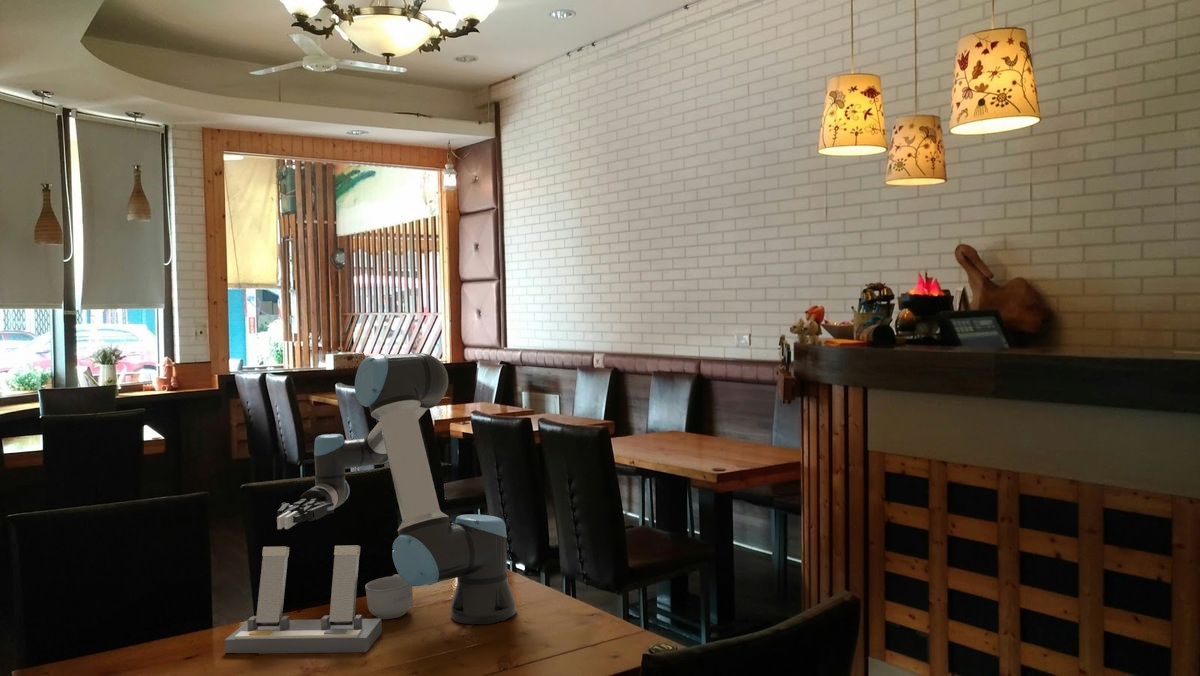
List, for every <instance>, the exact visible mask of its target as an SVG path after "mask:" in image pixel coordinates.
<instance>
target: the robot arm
mask: <svg viewBox="0 0 1200 676" xmlns="http://www.w3.org/2000/svg"><path fill="white" fill-rule="evenodd" d="M448 386H449V375H448V371H447V370H446V367H445V366H444V364H443V363H442V362H441V360H439V359H438V358H436V356H434V355H431V354H428V353H424V352H417V353H397V354H396V353H395V354H384V353H383V354H379V355H371V356H368V357H365V358H364V359H363V360H362V361H361V363H360V364H359V366H358V367H357V371H356V375H355V379H354V392H355V397H356V401H357V402H359V405H361V406H363V407H365V408H369V412H370V416H371V417H372V418H374V419H375V420H377V421H378V423H377V424H376V425H375V426H374V428H373V429H372V430H371V431H370V432H369V434H368V435H367V436H366V437H364V438H363V437H362V438H355V439H345V437H344V435H343V434H341V433H331V434H330V433H329V434H328V433H327V434H321V435H318V436H316V438H315V439H314V445H313V446H314V449H313V455H314V471H315V472H314V473H315V475H314V476H315V477H314V479H315V480H314V481H315V486H313V487H311V488H310V489H308V490H306V491H304V492H303V493H302V494H301V495H300V497H299V499H298V501H296V502H293V504H292V505H291V504H290V503H287V502H282V503H281V506H280V508H278V510H277V514H276V515H277V517H276V523H277V527H276V529H277V530H282V529H283V528H284V529H285V530H289V529H291V528H292V527H293V526H295V525H296V524H299V523H303V522H305V521H308V522H312V521H315V520H318V519H321V518H323V517H324V516H326V515H329V514H334V513H335V511H334V510H335V509H337V508H339V507H340V506H341V505H343V504H344V503H345V501H347V499H348V498H349V496H350V485H349V483H348V482H347V480H346V469H352V468H359V467H361V468H362V467H367V466H375V465H383V464H386V463H388V464H389V469H390V473H391V476H392V481H393V486H394V490H395V494H396V499H397V503H398V507H399V512H400V515H401V520H402V521H401V524H400V525H399V527H398V529H397V533H398V534H397V535H398V537H396V538H395V540H394V541H393V543H392V551H391V553H392V555H391V556H392V560H393V563H394V566H395V569H396V571H397V573H398V575H400V576H401V578H402V579H403V580H404V581H406V583H408V584H409V585H412V587H423V586H431V585H434V584H436V583H440V582H443V581H444V582H445V581H448V580H452V579H455V578H457V580H456V581H457V583H456V586H455V590H454V595H453V597H452V600H451V603H450V619H452V620H453V621H454V622H457V623H460V624H463V625H464V624H466V625H475V624H479V625H489V624H490V625H491V624H496V623H495V622H497V623H500V621H501V622H504V621H507V620H508V618H509V619H511V618H513V617H514V616H515V615H514V614H516V612H517V611H516V610H517V609H516V601H515V599H514V595H513V592H512V589H511V587H510V583H509V581H508V556H507V555H508V554H507V552H508V551H507V549H508V548H507V538H508V535H507V527H506V526H507V525H506V522H505V521H504V520H503V518H501V517H498V516H494V515H487V514H475V513H474V514H460V515H458V516H456V518H455V521H454V523H455V524H452V525H451V522H450V517H449V515H447V514H446V513H444V512H442V510H441V509H440V505H439V501H438V497H437V492H436V489H435V484H434V481H433V476H432V473H431V468H430V467H431V466H430V464H429V460H428V456H427V451H426V447H425V444H424V439H423V435H422V432H421V428H420V427H421V426H420V423H419V420H420V418H421V417H422V416H423V415H424V414H425V412H427V410H429V409H433V408H435V407H436V406H437V405H438V404H439V403H440V402H441V400H443V398H444V396H445V395H446V393H447V390H448V388H449V387H448ZM513 615H514V616H513ZM510 617H511V618H510ZM506 619H507V620H506Z"/></svg>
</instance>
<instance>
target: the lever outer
mask: <svg viewBox="0 0 1200 676" xmlns="http://www.w3.org/2000/svg"><path fill="white" fill-rule="evenodd" d="M261 554H262V561H261V573H260V579H259V580H260V581H259V588H258V597H257V600H258V601H257V609H256V615H255V616H256V623H257V626H258V627H261V626H280V619H281V618H282V617H283V610H284V609H283V608H284V602H285V601H284V599H285V589H286V582H287V581H286V580H287V569H288V558H289V555H290V547H289V546H263V547H262V553H261Z"/></svg>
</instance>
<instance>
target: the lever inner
mask: <svg viewBox="0 0 1200 676" xmlns="http://www.w3.org/2000/svg"><path fill="white" fill-rule="evenodd" d="M333 551H334V552H333V555H334V558H333V569H332V571H333V572H332V584H331V595H330V596H331V597H330V604H329V605H330V608H329V615H330V618H329V622H330V625H331V626H336V625H353V618H354V617H355V616H356V615H355V614H356V603H357V592H358V589H357V588H358V577H359V575H358V574H359V565H360V564H359V563H360V561H359V560H360V555H361V554H360V553H361V546H360V545H357V544H356V545H334V550H333Z"/></svg>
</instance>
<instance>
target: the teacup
mask: <svg viewBox="0 0 1200 676" xmlns="http://www.w3.org/2000/svg"><path fill="white" fill-rule="evenodd" d="M364 586H365V587H364V588H365V594H366V595H365V596H366V604H367V608H368V611H369V612H370V614H371V615H373V616H375V617H376V619H382V620H390V619H396V618H400V617H402V616H404V615H405V614H406V613H407V612H408V611H409V610H410V608H412V606H413V599H414V597H413V586H412V585H409V584H408V583H406V581H404V580H403V579H402V578H401V576H400V575H399V573H398V574H393V575H392V576H391V575H390V576H384V577H380V578H377V579H374V580H371V581H369V582H367V583H366V584H365V585H364Z"/></svg>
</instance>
